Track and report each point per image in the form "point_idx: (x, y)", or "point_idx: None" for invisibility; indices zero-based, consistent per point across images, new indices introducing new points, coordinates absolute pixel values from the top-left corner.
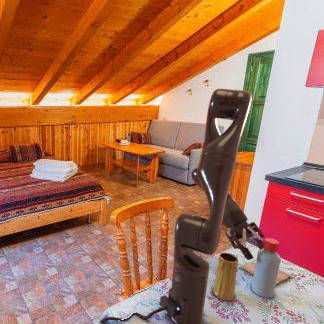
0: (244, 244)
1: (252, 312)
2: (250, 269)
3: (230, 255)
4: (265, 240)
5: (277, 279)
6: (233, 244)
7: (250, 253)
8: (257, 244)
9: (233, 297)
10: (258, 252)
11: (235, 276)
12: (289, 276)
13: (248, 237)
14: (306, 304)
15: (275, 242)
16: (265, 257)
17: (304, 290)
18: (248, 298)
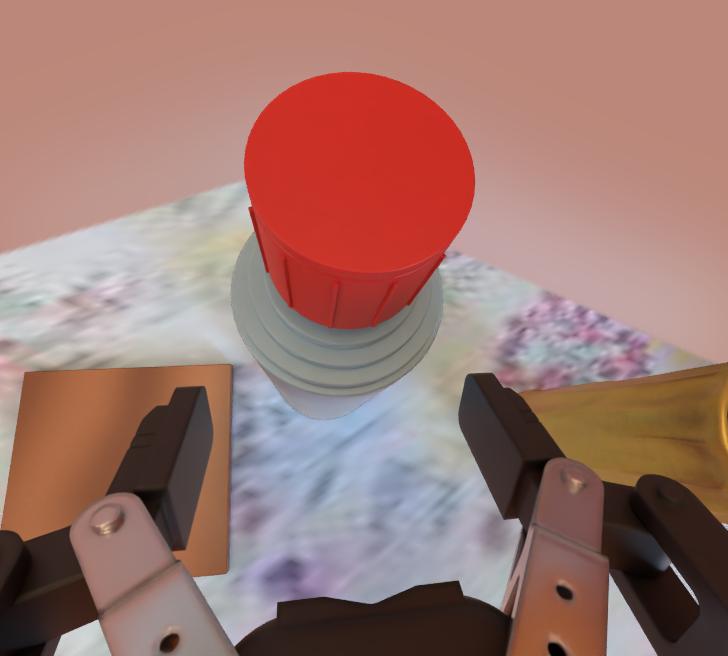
0: (573, 493)
1: (501, 306)
2: (193, 527)
3: (721, 477)
4: (455, 236)
5: (143, 386)
6: (676, 588)
7: (498, 402)
8: (189, 518)
9: (522, 393)
10: (397, 372)
11: (616, 381)
12: (37, 372)
13: (398, 599)
14: (221, 229)
15: (368, 106)
16: (437, 271)
17: (105, 279)
18: (442, 366)
